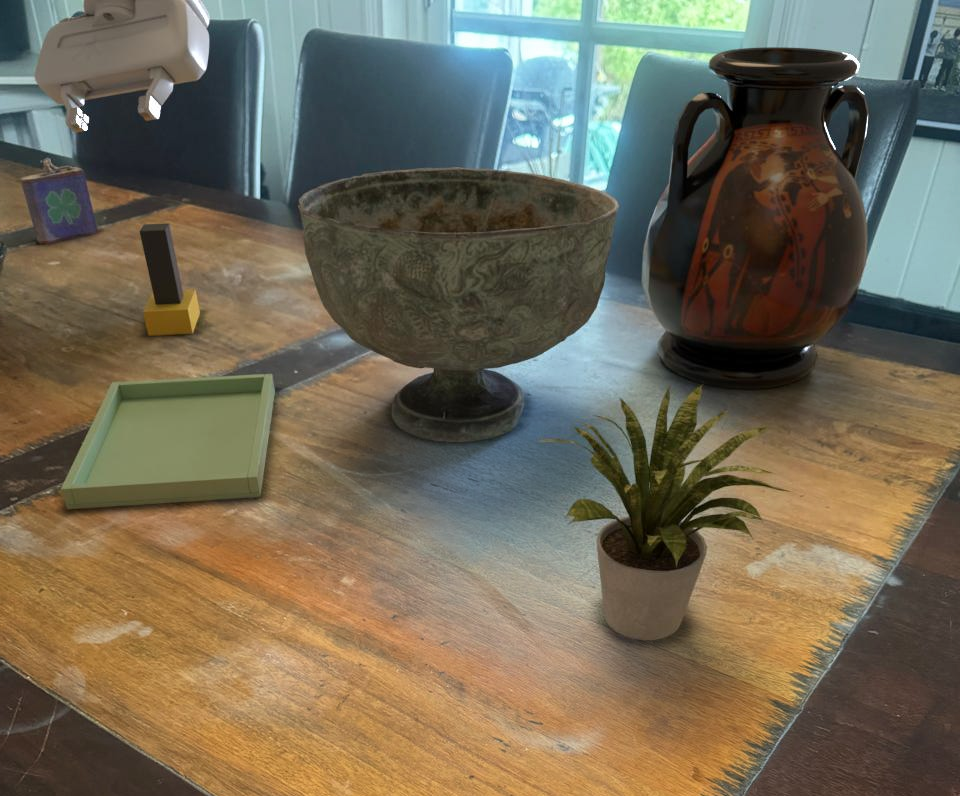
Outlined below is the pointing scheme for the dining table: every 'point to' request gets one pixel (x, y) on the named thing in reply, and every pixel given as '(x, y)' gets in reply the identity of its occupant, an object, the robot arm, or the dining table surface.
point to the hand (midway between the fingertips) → (111, 122)
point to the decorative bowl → (458, 281)
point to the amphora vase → (759, 221)
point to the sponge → (166, 286)
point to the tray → (174, 442)
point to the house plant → (660, 518)
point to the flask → (59, 203)
